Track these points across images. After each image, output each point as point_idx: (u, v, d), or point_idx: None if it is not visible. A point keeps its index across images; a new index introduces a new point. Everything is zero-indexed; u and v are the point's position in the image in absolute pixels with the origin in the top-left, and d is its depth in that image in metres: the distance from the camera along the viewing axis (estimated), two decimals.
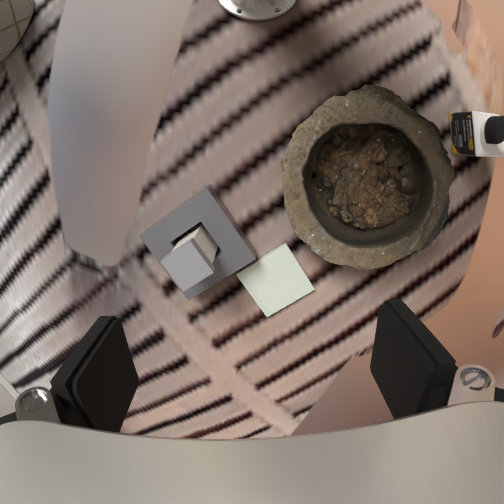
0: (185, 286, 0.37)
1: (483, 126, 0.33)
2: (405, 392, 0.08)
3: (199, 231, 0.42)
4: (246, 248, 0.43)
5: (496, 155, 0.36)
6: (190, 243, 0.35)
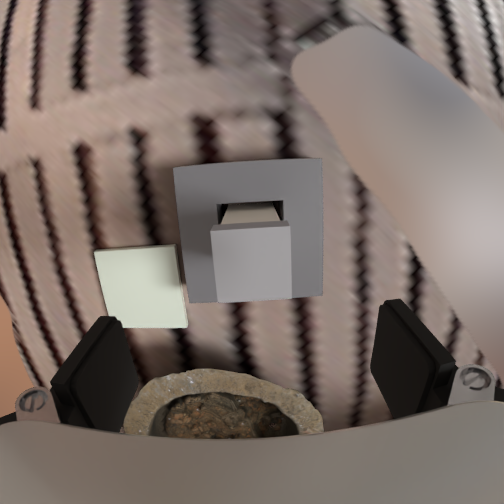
0: (218, 241, 0.18)
1: None
2: (405, 391, 0.08)
3: None
4: (211, 300, 0.28)
5: None
6: (288, 296, 0.19)
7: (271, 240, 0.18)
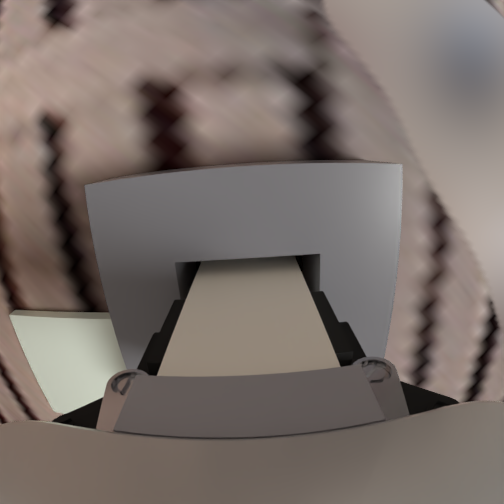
0: None
1: None
2: None
3: None
4: None
5: None
6: None
7: None
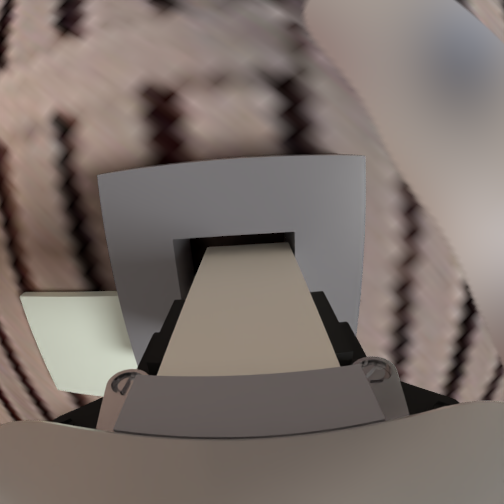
0: None
1: None
2: None
3: None
4: None
5: None
6: None
7: None
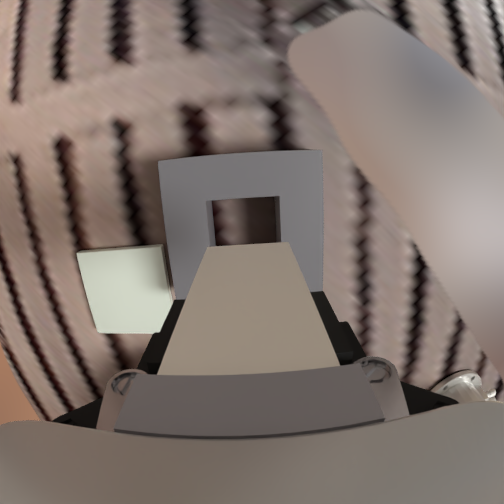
0: None
1: None
2: None
3: None
4: None
5: None
6: None
7: None
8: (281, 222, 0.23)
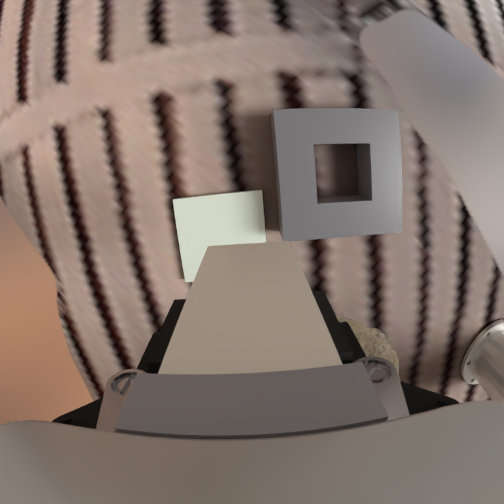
0: None
1: None
2: None
3: None
4: (305, 237, 0.29)
5: None
6: None
7: None
8: (371, 164, 0.27)
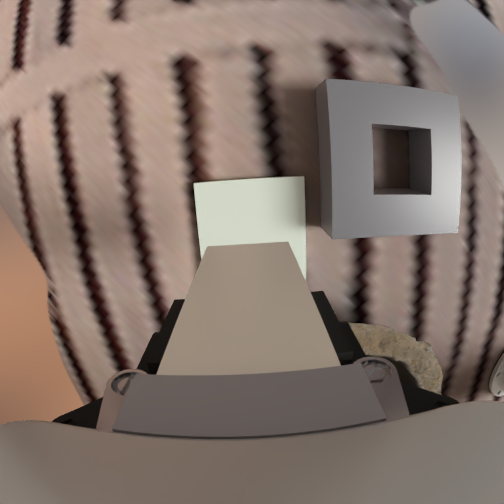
0: None
1: None
2: None
3: None
4: (357, 234, 0.23)
5: None
6: None
7: None
8: (432, 153, 0.21)
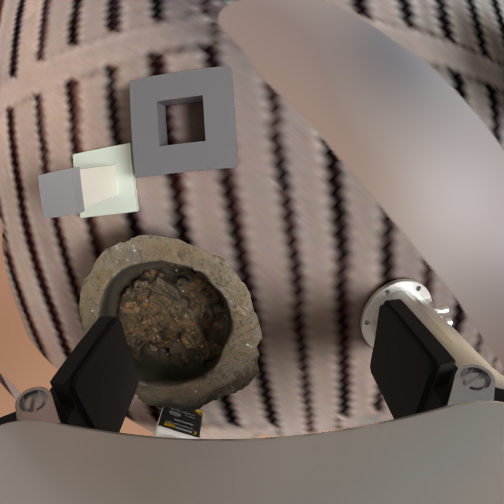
0: (41, 181, 0.26)
1: None
2: (405, 391, 0.08)
3: (100, 200, 0.33)
4: (151, 173, 0.34)
5: None
6: (75, 212, 0.27)
7: (63, 177, 0.26)
8: (204, 111, 0.32)
